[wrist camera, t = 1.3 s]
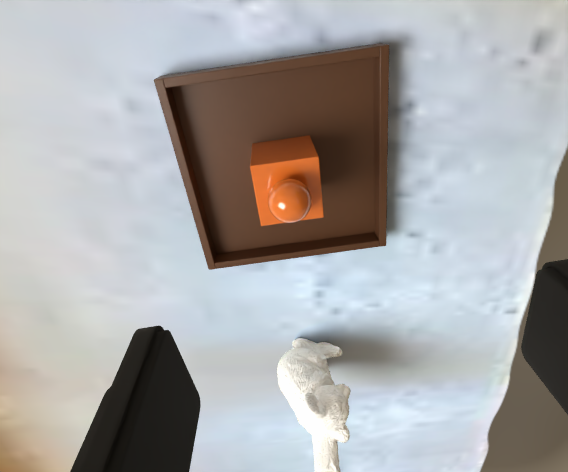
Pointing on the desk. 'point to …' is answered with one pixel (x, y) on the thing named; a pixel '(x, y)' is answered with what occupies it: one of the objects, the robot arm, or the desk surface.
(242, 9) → the desk surface
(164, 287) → the desk surface
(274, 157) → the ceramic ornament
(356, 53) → the walnut tray
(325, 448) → the white lumpy piece
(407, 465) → the desk surface
